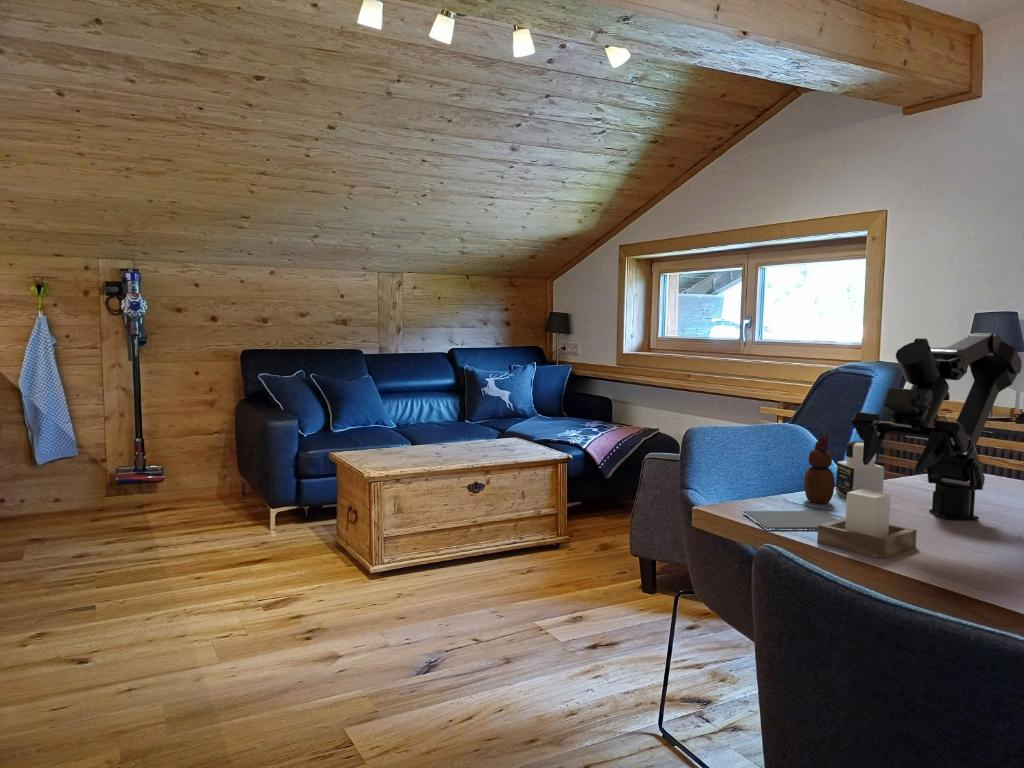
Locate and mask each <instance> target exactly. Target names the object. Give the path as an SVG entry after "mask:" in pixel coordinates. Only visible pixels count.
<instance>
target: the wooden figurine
mask: <svg viewBox="0 0 1024 768" xmlns="http://www.w3.org/2000/svg"><path fill="white" fill-rule="evenodd" d="M820 435H821V436H820V438H818V440H817V441H815V445H814V449H812V450H810V452H809V455H808V463H809V465H810V467H808V468H807V470H806V471H805V473H804V474H805V475H804V479H803V480H804V481H803V486H804V493H805V497H806V499H807V500H808V501H809V502H810V503H813V504H818V505H824V504H828V503H829V502H831V500H832V498H833V495H834V492H835V491H834V490H835V476H834V473H833V471H832V470H831V468H830V467H831V466H832V464H833V463H832V462H833V461H832V460H833V457H832V453H831V451H829V450H828V433H825V435H823V434H820Z"/></svg>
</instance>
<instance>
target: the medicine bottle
mask: <svg viewBox="0 0 1024 768" xmlns="http://www.w3.org/2000/svg"><path fill="white" fill-rule="evenodd" d="M863 449H864V440H861V441H860V440H859V441H858V440H852V441H849V442H847V443H846V446H845V460H841V461H837V463H836V464H837V465H836V481H835V485H836V486H835V492H836V493H837V494H840V495H841V496H844V497H846V498H847V492H851V491H856V490H860V489H865V490H871V491H876V492H881V493H884V482H885V481H884V477H885V467H884V466H882V465H879V464H876V463H875V462H876V460H877V453H876V454H875V455H874V457H873V458H872V460H871V461H870V462H869V463H868V464H867V465H864V463H863Z"/></svg>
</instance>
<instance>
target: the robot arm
mask: <svg viewBox="0 0 1024 768" xmlns="http://www.w3.org/2000/svg"><path fill="white" fill-rule="evenodd" d="M895 358H896V361H897V364H898V365H899V368H900V370H901V373H902V375H903V377H904V380H905V381H906V382H907V383H908V384H910V385H911V388H909V389H908V388H899V387H898V388H897V387H888V388H887V391H886V393H885V394H886V395H885V398H884V401H883V406H884V407H887V408H888V409H889V410H890V411H889V413H888V414H889V416H890V419H894V420H893V421H887V420H886V421H884V420H882V418H881V417H880V414H879V413H876V412H875V413H874V412H865V411H857V412H856V413H855V414H854V416H853V418H852V419H851V423H852V425H853V427H854V428H855V431H856V433H857V435H858V436H859V438H860V440H861V441H864V449H863V463H864V465H867V464H868V463H869V462H870V461H871V460H872V458H873V457H874V455H875V454H876V455H877V453H878V451H879V449H881V446H882V445H883V444H882V443H881V441H882V442H883V441H884V439H885V437H886V434H889V435H890V434H891V435H897V436H902V437H906V438H912V439H919V440H927V444H926V445H925V447H924V449H923V451H922V453H921V454H920V456H919V459H918V461H916V464H915V468H914V471H915V473H916V474H917V475H918V474H921V473H922V472H923V471H925V470H926V473H927V481H928V484H935V488H934V490H933V492H932V502H931V503H932V505H931V506H932V507H931V508H929V510H928V512H929V513H931V514H934V515H936V516H939V517H941V518H944V519H946V520H980V517H979V515H975V501H976V500H975V499H976V497H975V496H976V491H983V488H984V485H985V479H986V477H985V474H984V471H983V469H982V467H981V464H980V458H979V455H978V453H977V449H976V446H977V444H978V443H979V439H980V437H981V434H982V432H983V430H984V428H985V425H986V423H987V420H988V418H989V417H990V413H991V411H992V409H993V407H994V405H995V402H996V399H997V397H998V394H999V393H1000V392H1002V391H1003V390H1005V389H1007V388H1009V387H1010V386H1011V385H1013V383H1014V382H1015V380H1016V378H1017V376H1018V375H1019V374H1020V373H1021V370H1022V366H1023V365H1022V358H1021V357H1020V354H1019V353H1018V351H1017V349H1016V348H1015V347H1014V346H1011V345H1010V344H1008V343H1006V342H1005V341H1003V340H1002V339H1001V337H1000V335H999V334H995V332H994V333H993V332H991V333H990V332H973V333H969V334H968V336H967V337H965V338H963V339H962V340H960V341H957V342H955V343H953V344H951V345H950V346H946V347H931V346H930V343H929V341H928V339H927V338H918V337H917V338H915V339H914V340H913V342H909V343H907V344H904V345H903V346H902V347H900V348H899V349H897V350H896V352H895ZM968 368H969V369H970V373H971V376H972V378H973V383H972V385H971V386H970V387H971V388H970V389H969V392H968V394H967V396H966V399H965V401H964V403H963V406H962V407H961V409H960V412H959V415H958V417H957V419H956V420H955V421H952V420H942V419H939V414H938V412H939V410H940V409H941V406H942V404H943V402H944V401H946V402H947V401H950V398H951V395H950V392H949V389H950V385H949V383H948V381H960V380H961V379H962V378H963V377H964V376H965V375H966V374H967V373H968ZM933 422H934V424H933ZM932 424H933V427H931V426H932Z"/></svg>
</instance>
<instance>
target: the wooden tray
mask: <svg viewBox="0 0 1024 768" xmlns="http://www.w3.org/2000/svg"><path fill="white" fill-rule="evenodd" d="M845 526H846V517H843V518H840V519H838V520H835V521H832V522H828V523H824V524H821V525H818V530H817V539H816V540H817V543H819V542H821V543H820V544H823V543H825V544H824V545H827V544H828V545H827V546H830V545H832V547H834V546H836V547H835V548H838V547H840V548H839V549H842V548H844V549H843V550H846V549H847V551H850V550H851V551H850V552H854V551H855V553H858V552H859V553H858V554H862V553H863V554H862V555H866V554H867V555H866V556H870V555H871V556H870V557H873V556H876V557H875V558H877V557H880V558H879V559H881V558H883V559H885V558H884V557H886V558H888V557H890V555H891V556H894V555H897V554H899V553H902V552H903V553H904V552H905V551H908V550H910V549H915V548H916V547H917V531H918V530H917V529H915V528H910V527H908V526H907V527H906V526H901V525H897V524H891V523H889V532H888V535H886V536H883V537H880V538H879V537H875V536H870V535H866V534H862V533H858V532H853V531H849V530H845ZM896 553H897V554H896Z"/></svg>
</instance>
